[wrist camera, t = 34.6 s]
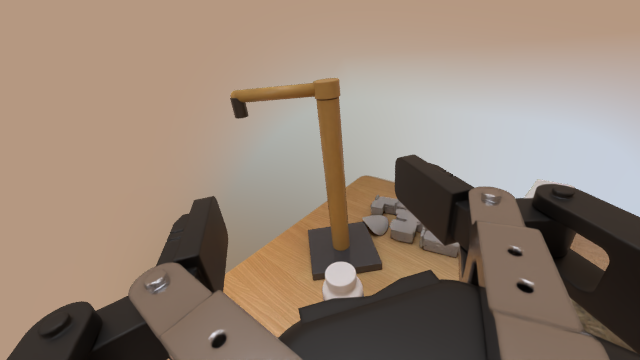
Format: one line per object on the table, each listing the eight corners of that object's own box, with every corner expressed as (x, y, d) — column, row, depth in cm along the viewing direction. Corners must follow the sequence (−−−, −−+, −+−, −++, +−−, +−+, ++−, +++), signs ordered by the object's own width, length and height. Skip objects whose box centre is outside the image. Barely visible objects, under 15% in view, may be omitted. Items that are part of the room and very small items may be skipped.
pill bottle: (345, 297, 41) (340, 250, 37) (372, 319, 38) (371, 270, 33) (319, 321, 38) (311, 273, 34) (347, 348, 35) (341, 298, 30)
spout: (342, 106, 39) (340, 77, 37) (340, 112, 36) (337, 81, 34) (240, 114, 42) (233, 87, 40) (230, 120, 39) (223, 91, 37)
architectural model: (373, 203, 63) (373, 185, 61) (496, 227, 51) (502, 206, 49) (355, 233, 54) (354, 212, 52) (498, 270, 43) (505, 246, 40)
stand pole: (347, 238, 51) (336, 94, 39) (351, 249, 48) (340, 98, 36) (331, 240, 51) (315, 97, 39) (334, 252, 48) (317, 101, 36)
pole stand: (364, 227, 56) (364, 221, 55) (382, 269, 45) (382, 263, 45) (308, 235, 56) (307, 230, 55) (313, 280, 45) (312, 274, 44)
